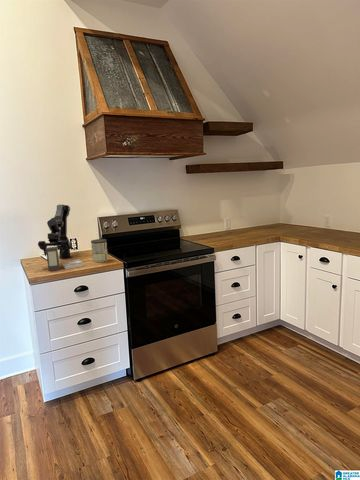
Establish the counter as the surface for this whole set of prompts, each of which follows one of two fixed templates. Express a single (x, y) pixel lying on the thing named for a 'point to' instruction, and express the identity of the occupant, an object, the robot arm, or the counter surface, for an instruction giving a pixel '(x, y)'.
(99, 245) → the coffee can
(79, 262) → the picture stand
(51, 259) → the photo frame
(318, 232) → the counter surface
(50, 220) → the robot arm
